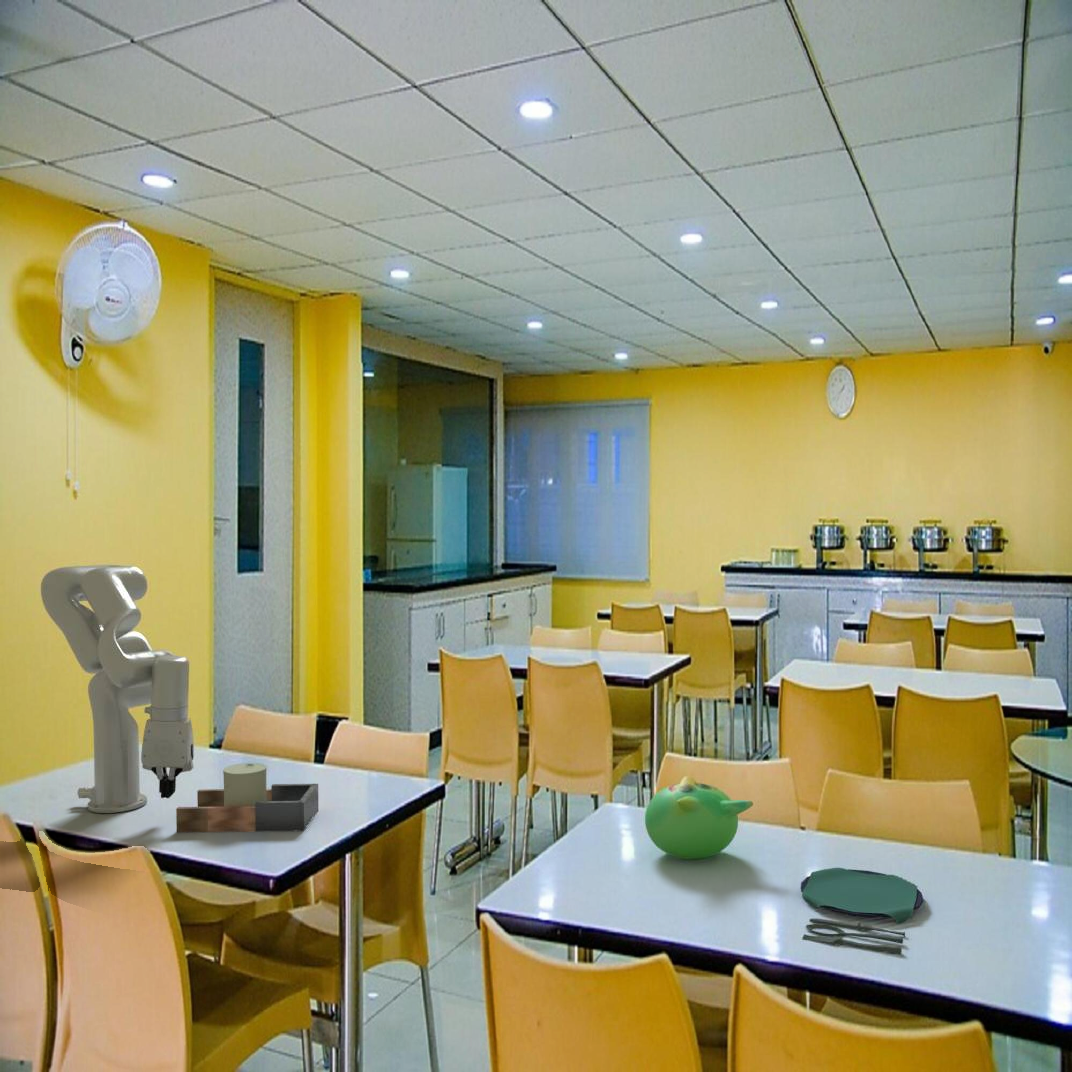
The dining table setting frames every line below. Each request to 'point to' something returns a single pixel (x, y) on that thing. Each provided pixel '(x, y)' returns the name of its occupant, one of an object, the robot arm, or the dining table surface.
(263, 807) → the box
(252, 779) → the can
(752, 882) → the dining table surface
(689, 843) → the toy bird
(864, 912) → the cutlery set
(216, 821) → the channel
